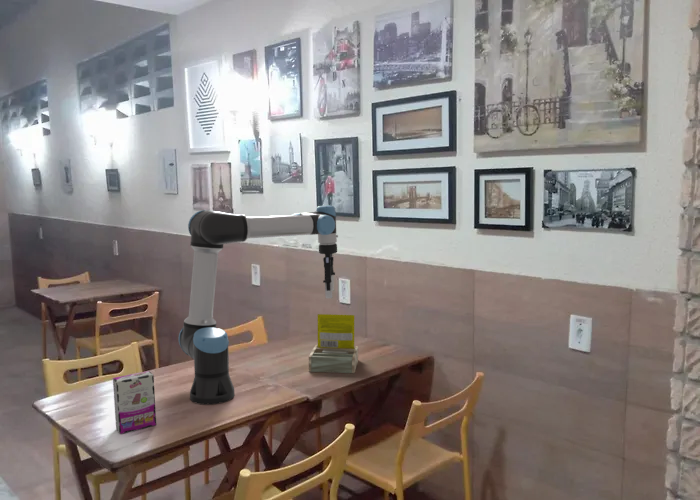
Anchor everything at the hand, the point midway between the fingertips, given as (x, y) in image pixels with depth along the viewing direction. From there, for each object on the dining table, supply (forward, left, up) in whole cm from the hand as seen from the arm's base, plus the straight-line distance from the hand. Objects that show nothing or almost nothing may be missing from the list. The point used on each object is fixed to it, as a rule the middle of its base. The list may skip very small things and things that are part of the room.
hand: (330, 294), depth 243 cm
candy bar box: (-72, +50, -29) cm, 92 cm away
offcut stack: (-6, -3, -28) cm, 29 cm away
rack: (-7, -3, -28) cm, 29 cm away
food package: (-1, -3, -29) cm, 29 cm away
